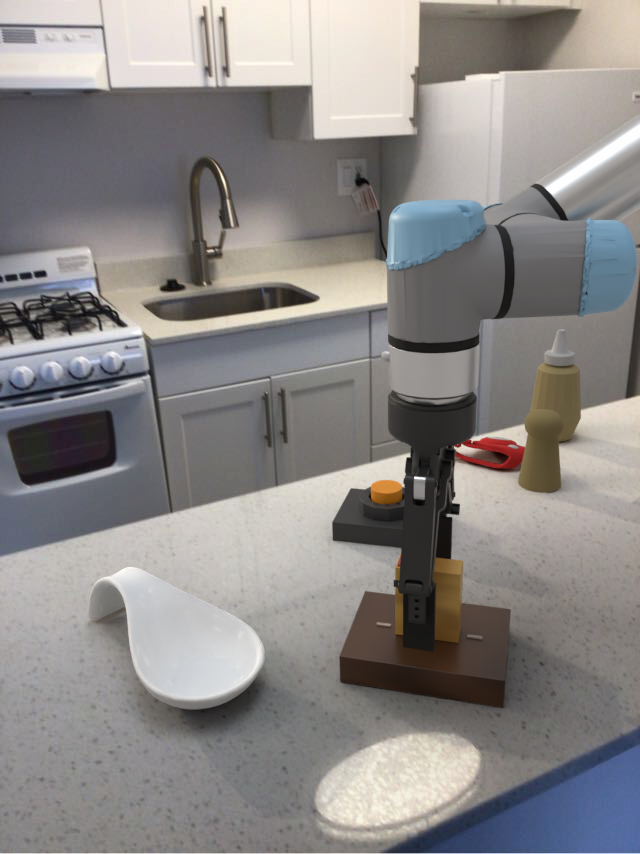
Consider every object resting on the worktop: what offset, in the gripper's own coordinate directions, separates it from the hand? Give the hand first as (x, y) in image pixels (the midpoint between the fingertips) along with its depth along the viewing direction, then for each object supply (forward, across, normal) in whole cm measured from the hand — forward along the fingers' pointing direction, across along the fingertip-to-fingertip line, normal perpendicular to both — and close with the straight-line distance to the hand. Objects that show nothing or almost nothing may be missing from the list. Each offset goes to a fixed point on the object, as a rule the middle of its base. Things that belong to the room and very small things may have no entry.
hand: (428, 607), depth 72 cm
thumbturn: (+3, 0, 0) cm, 3 cm away
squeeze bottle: (+6, -61, +12) cm, 62 cm away
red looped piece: (+6, -50, +2) cm, 50 cm away
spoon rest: (+6, +6, -25) cm, 27 cm away
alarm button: (+2, -25, -9) cm, 27 cm away
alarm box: (+6, -25, -9) cm, 27 cm away
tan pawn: (+6, -42, +10) cm, 44 cm away
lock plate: (+6, 0, 0) cm, 6 cm away
